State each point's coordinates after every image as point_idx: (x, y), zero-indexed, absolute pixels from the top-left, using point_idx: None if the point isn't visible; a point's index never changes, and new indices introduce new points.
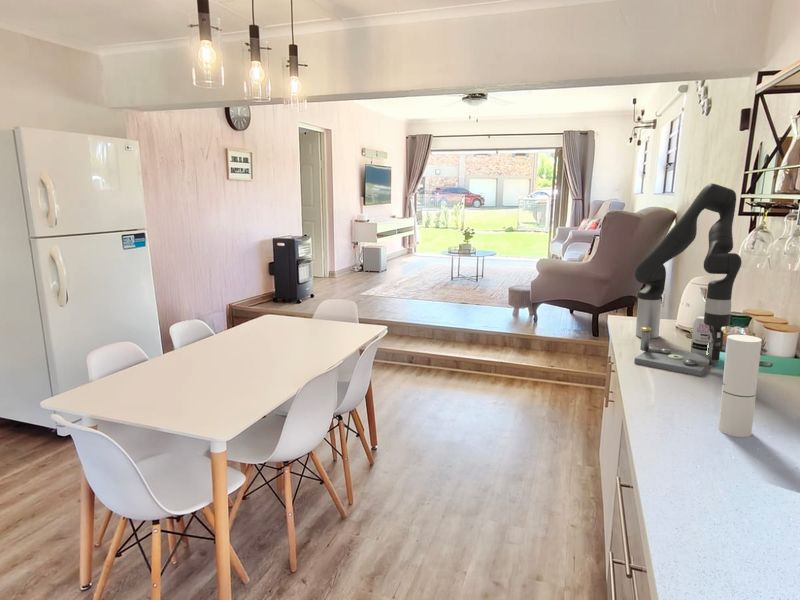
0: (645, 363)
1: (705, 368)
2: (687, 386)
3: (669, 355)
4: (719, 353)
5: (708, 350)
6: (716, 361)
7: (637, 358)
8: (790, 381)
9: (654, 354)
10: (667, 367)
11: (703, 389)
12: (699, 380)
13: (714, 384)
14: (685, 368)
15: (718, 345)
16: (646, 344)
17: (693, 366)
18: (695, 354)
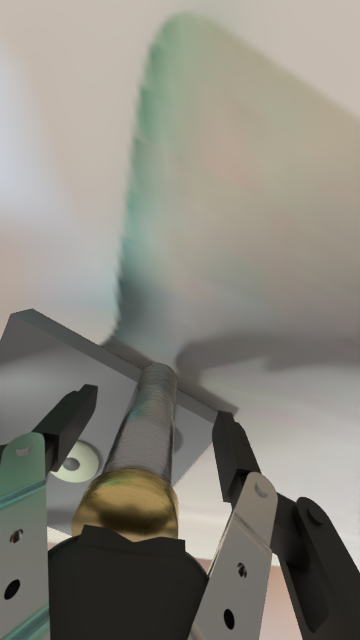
0: None
1: (176, 398)
2: (311, 467)
3: (64, 477)
4: (244, 448)
5: (86, 424)
6: (174, 386)
7: None
8: (265, 74)
9: (55, 504)
10: None
11: (338, 440)
12: (260, 427)
13: (297, 400)
14: (193, 459)
15: (165, 472)
16: None
17: (176, 438)
18: (2, 386)
